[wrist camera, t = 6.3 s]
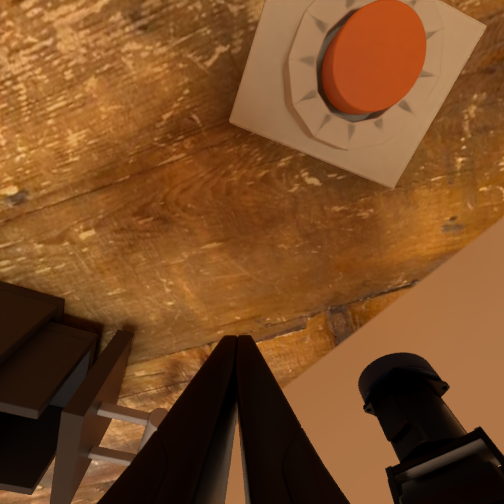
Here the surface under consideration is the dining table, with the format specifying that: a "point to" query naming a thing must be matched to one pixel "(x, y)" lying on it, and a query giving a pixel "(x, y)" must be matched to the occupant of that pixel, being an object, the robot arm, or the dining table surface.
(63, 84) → the dining table surface
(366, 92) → the button
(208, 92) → the dining table surface
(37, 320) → the drawer cabinet
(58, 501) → the dark brown drawer
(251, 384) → the robot arm
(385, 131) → the control block
